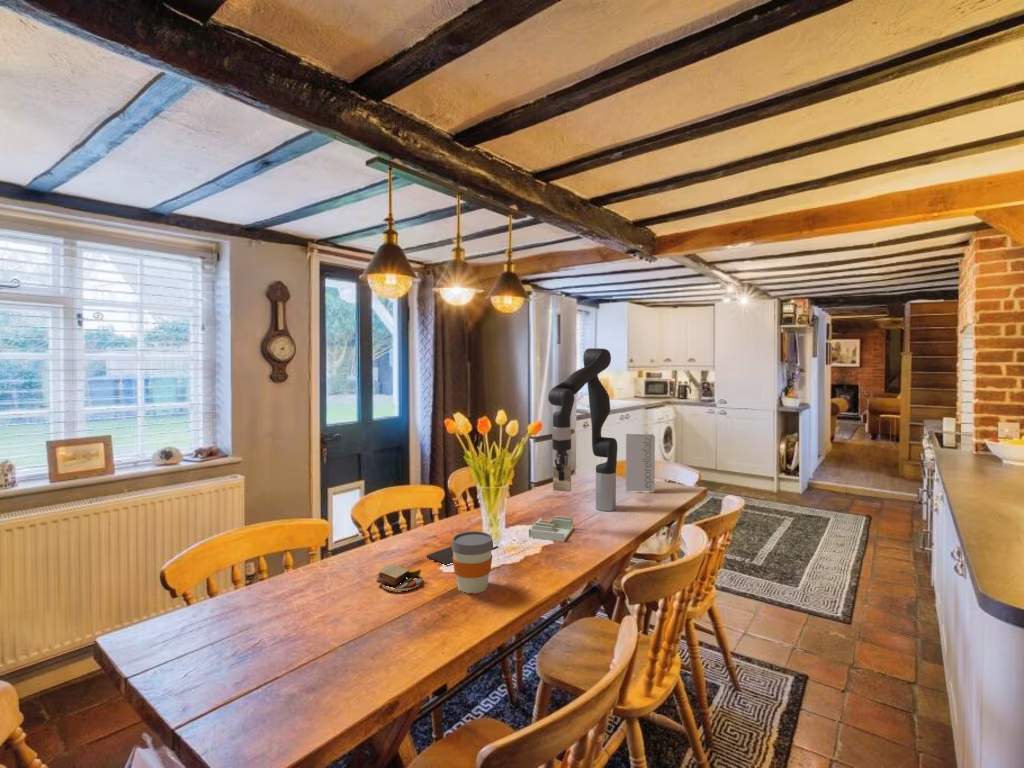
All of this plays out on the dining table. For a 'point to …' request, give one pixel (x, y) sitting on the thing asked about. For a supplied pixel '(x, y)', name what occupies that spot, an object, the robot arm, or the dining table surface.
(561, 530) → the tray
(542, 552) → the dining table surface
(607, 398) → the robot arm
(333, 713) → the dining table surface
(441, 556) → the smartphone
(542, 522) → the offcuts
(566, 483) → the tan rectangular block
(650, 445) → the brochure
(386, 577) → the toy sandwich meal
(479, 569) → the reusable coffee cup
